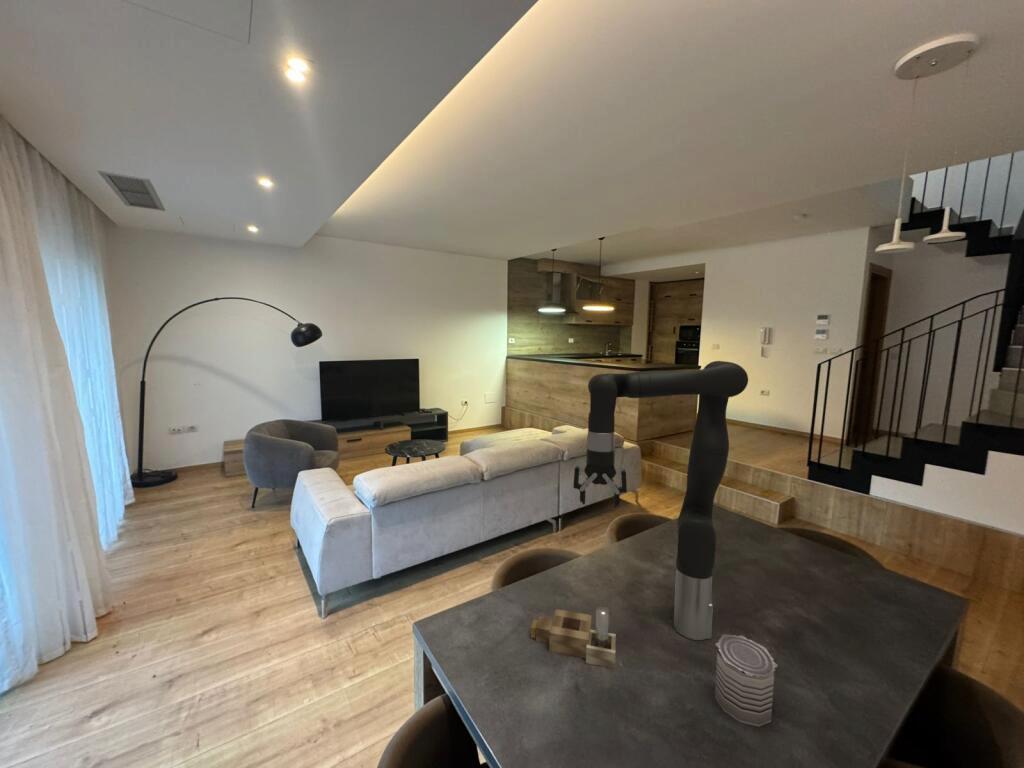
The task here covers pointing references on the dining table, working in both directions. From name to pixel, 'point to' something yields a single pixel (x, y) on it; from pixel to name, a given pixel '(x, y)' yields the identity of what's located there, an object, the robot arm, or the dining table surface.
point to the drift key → (534, 628)
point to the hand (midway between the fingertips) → (599, 505)
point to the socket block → (565, 632)
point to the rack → (601, 651)
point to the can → (744, 679)
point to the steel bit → (602, 627)
